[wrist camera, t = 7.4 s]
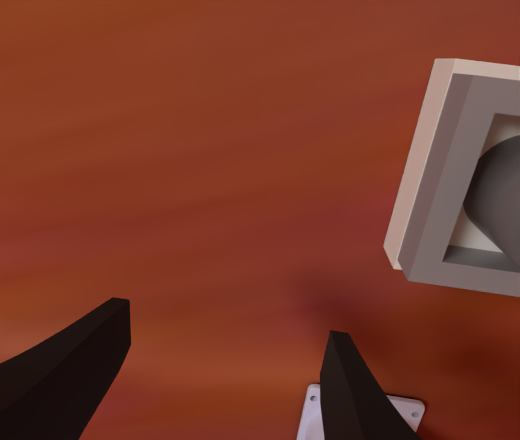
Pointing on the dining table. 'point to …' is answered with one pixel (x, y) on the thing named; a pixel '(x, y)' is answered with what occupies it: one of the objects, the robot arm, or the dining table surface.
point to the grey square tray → (454, 179)
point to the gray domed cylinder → (497, 197)
